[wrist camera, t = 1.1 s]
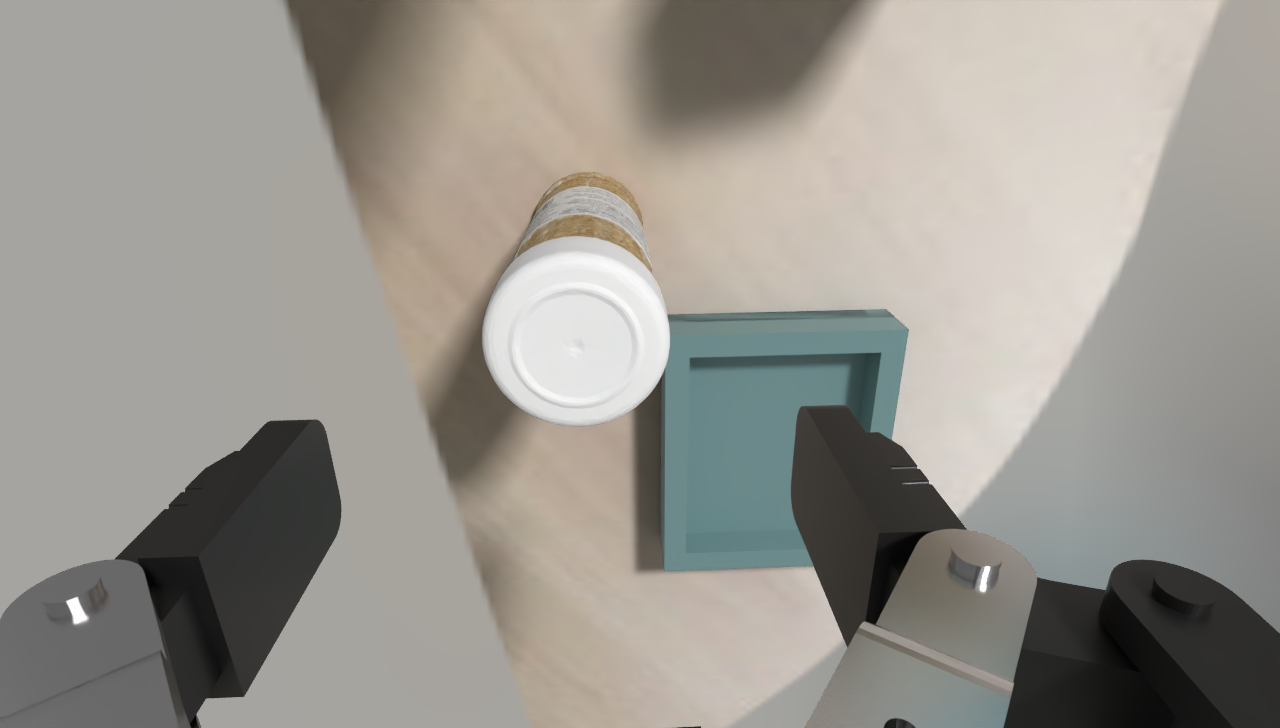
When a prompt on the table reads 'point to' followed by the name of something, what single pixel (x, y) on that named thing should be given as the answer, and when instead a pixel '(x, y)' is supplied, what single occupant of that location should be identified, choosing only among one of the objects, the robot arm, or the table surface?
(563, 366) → the sprinkles bottle
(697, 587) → the table surface
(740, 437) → the tray
